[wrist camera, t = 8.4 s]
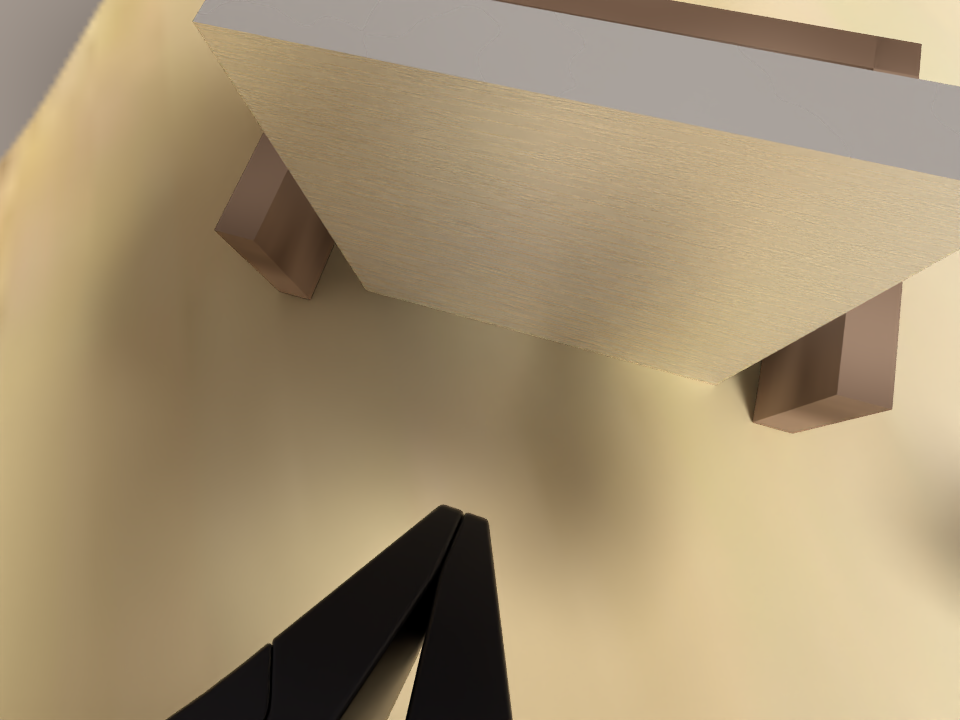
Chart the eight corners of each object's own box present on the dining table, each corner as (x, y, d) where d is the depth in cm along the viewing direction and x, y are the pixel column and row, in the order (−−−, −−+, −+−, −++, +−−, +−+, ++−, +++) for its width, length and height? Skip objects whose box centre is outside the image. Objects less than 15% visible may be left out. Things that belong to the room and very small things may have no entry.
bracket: (714, 385, 16) (1050, 198, 6) (366, 291, 17) (192, 21, 8) (754, 167, 18) (1047, -226, 8) (442, 100, 19) (382, -298, 10)
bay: (792, 433, 15) (892, 409, 11) (278, 291, 17) (214, 230, 13) (831, 143, 18) (921, 44, 14) (386, 52, 20) (357, -55, 16)
